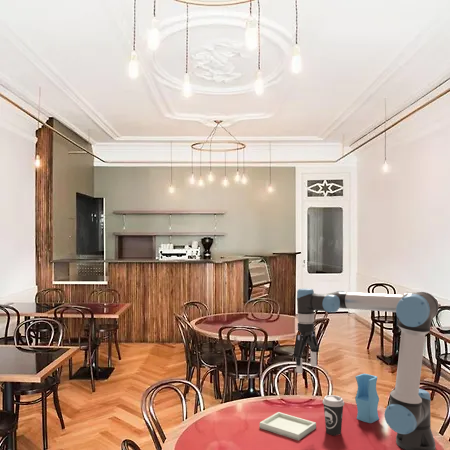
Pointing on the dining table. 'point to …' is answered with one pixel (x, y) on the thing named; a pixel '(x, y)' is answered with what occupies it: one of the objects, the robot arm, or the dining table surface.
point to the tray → (288, 425)
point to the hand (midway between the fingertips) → (306, 369)
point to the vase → (367, 398)
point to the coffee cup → (333, 414)
